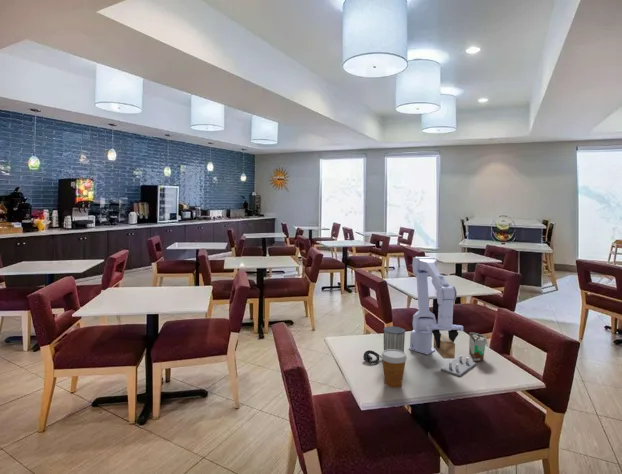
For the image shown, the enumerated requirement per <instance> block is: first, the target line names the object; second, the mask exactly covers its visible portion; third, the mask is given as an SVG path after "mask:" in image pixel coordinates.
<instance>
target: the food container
mask: <svg viewBox="0 0 622 474" xmlns="http://www.w3.org/2000/svg"><path fill="white" fill-rule="evenodd" d="M468 336H469V341H468V342H469V343H468V344H469V351H468V352H469V353H468V355H469V356H470V358H471V361H472V362H476V363H481V362H483V361H484V358H485V351H486V350H485V349H486V345H487V344H488V340H487V337H486V336H485V335H483V334H480V333H477V332H472V331H471V332H469V335H468Z"/></svg>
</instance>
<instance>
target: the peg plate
mask: <svg viewBox="0 0 622 474" xmlns="http://www.w3.org/2000/svg"><path fill="white" fill-rule="evenodd" d="M477 363H478V362H473V360H470V358H469V356H465V358H463V355H461V354H460V355H459V357H457V358H454V360H452V361H449V362H448V363H447V364H445V366H443V367H441V368H440V371H441V372H443V373H446V374H451V375H453V376H456V377H458V378H459V377H461V376H463V375H464V374H466V373H467V372H468V371H469V370H471V369H472V368H474V367H475V366H476V365H477Z"/></svg>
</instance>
